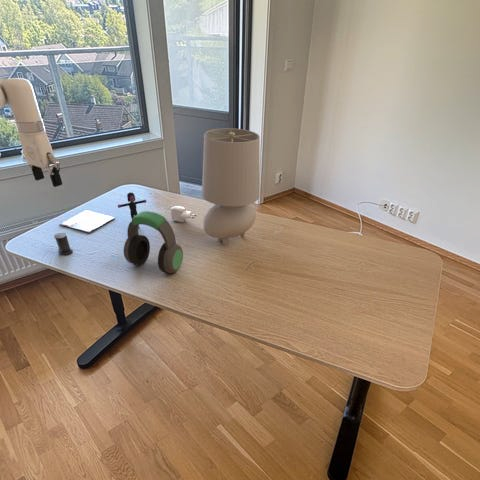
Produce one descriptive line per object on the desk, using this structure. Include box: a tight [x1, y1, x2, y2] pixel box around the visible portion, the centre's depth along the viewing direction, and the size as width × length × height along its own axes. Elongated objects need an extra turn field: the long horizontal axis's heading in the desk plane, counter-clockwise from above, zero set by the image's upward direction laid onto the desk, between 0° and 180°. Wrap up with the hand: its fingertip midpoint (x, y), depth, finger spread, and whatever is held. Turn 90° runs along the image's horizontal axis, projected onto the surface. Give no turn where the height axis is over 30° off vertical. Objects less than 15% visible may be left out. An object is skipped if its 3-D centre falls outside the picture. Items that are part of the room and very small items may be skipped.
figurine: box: [117, 191, 147, 230], centre depth 143 cm, size 12×4×15 cm, turn 123°
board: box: [59, 209, 116, 235], centre depth 149 cm, size 16×16×1 cm
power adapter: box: [170, 205, 198, 223], centre depth 152 cm, size 11×5×6 cm, turn 70°
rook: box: [53, 232, 74, 257], centre depth 128 cm, size 5×5×7 cm
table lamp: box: [201, 127, 261, 246], centre depth 129 cm, size 23×22×40 cm
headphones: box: [123, 210, 184, 274], centre depth 119 cm, size 19×11×20 cm, turn 70°
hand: (48, 182), depth 119 cm, fingers open, 9 cm apart
